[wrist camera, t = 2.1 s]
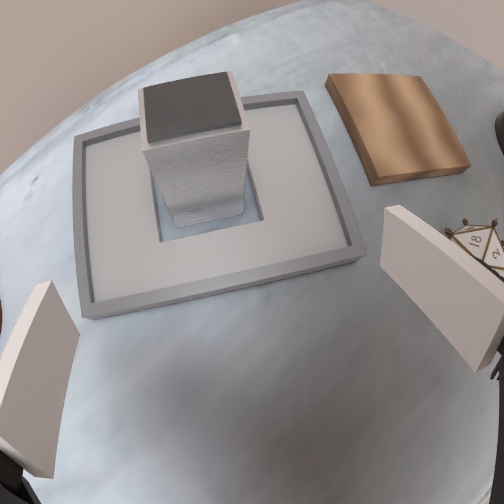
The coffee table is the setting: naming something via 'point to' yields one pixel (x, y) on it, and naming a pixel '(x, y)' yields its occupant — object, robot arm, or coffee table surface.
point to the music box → (0, 316)
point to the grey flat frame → (215, 242)
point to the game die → (480, 243)
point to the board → (396, 127)
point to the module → (196, 146)
